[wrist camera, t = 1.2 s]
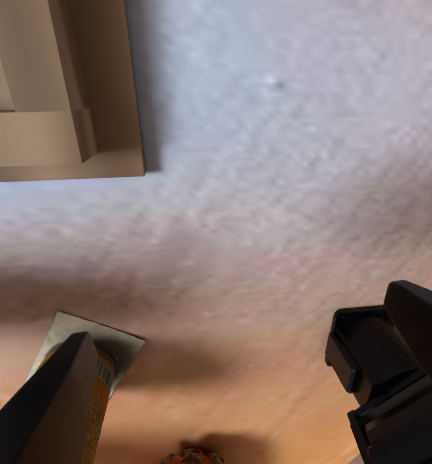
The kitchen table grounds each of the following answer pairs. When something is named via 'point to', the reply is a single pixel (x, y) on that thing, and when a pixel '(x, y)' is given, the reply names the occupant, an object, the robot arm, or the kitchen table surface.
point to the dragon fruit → (193, 457)
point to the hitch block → (67, 91)
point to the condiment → (107, 370)
